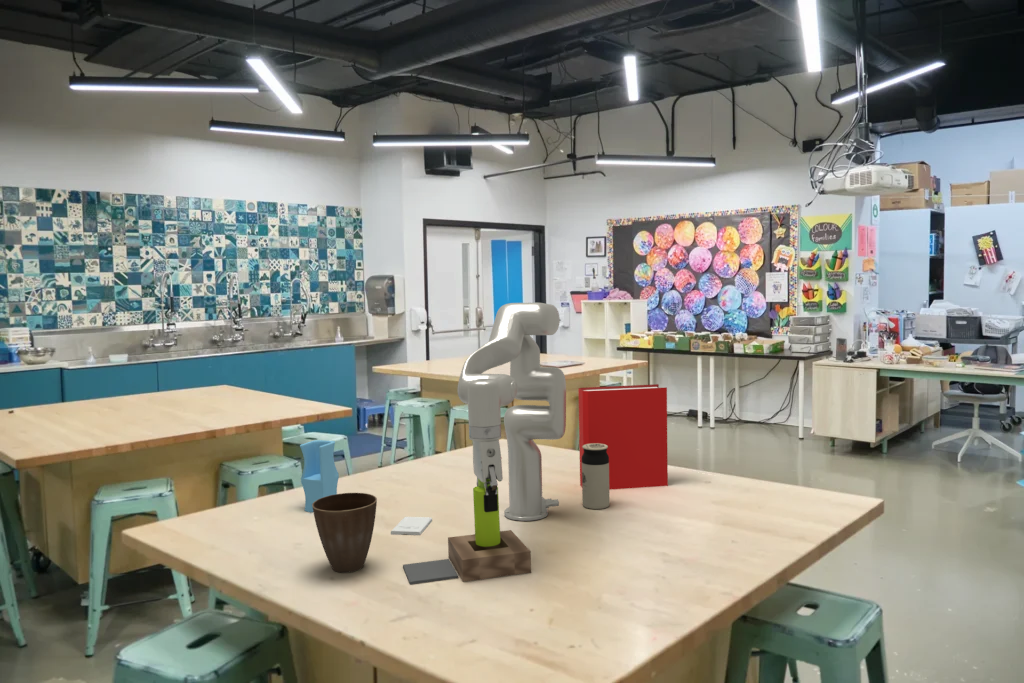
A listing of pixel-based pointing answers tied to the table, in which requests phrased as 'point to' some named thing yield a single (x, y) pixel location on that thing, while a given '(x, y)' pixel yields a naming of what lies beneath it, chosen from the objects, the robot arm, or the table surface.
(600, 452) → the travel mug
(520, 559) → the socket block
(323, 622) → the table surface
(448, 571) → the rubber mat
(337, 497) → the plant pot
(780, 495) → the table surface
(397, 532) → the external hard drive
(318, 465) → the light blue angular piece
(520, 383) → the robot arm
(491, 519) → the soap dispenser
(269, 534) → the table surface
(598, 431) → the book
